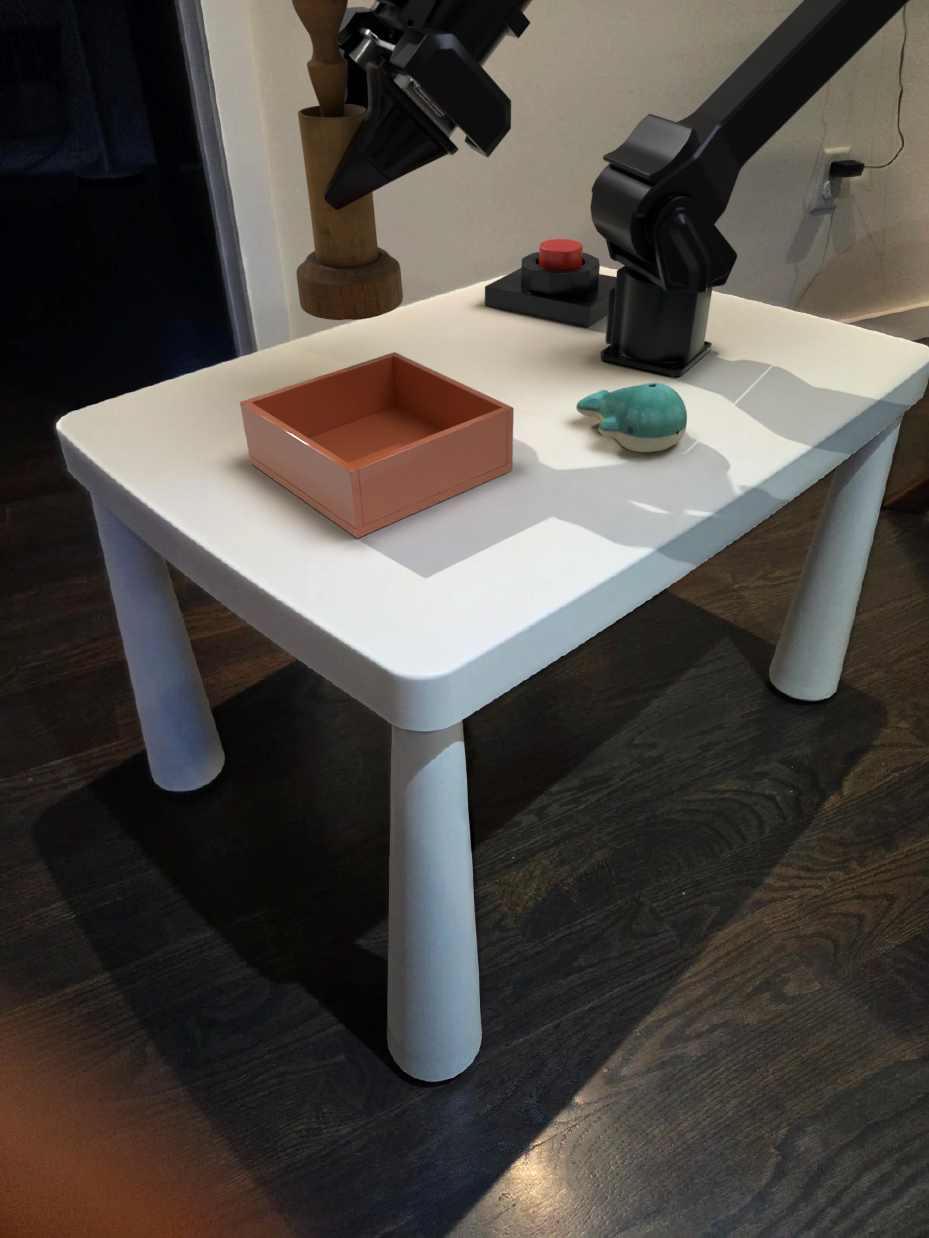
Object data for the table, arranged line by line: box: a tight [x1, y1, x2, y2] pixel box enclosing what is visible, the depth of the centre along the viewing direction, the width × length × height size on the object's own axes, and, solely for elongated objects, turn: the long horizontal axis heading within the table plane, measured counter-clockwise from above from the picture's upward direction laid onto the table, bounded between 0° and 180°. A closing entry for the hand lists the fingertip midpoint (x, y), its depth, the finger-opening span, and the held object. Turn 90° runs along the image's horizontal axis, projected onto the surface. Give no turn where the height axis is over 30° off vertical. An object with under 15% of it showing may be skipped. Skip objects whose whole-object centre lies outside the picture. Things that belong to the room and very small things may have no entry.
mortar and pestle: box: [291, 0, 404, 321], centre depth 53 cm, size 7×6×18 cm
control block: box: [484, 251, 616, 329], centre depth 78 cm, size 10×8×4 cm
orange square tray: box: [239, 351, 515, 539], centre depth 55 cm, size 12×12×4 cm
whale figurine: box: [575, 382, 688, 453], centre depth 58 cm, size 6×7×4 cm
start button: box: [538, 238, 584, 269], centre depth 76 cm, size 4×4×2 cm
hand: (321, 196), depth 55 cm, fingers closed on mortar and pestle, 4 cm apart
